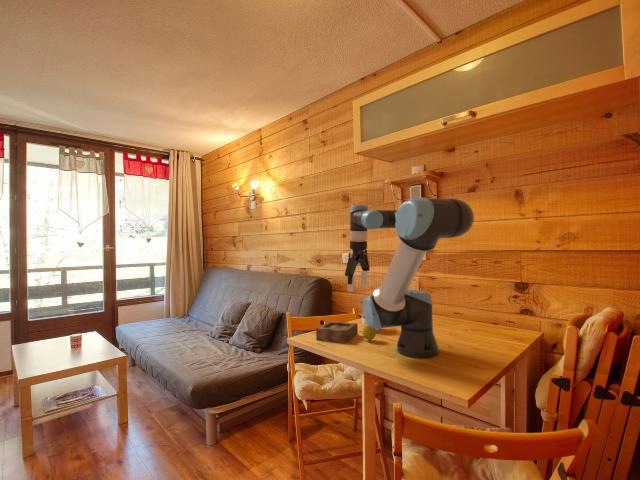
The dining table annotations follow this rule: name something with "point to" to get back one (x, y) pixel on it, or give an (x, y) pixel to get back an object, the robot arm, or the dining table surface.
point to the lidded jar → (366, 322)
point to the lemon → (369, 332)
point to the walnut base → (337, 332)
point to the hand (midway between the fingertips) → (357, 288)
